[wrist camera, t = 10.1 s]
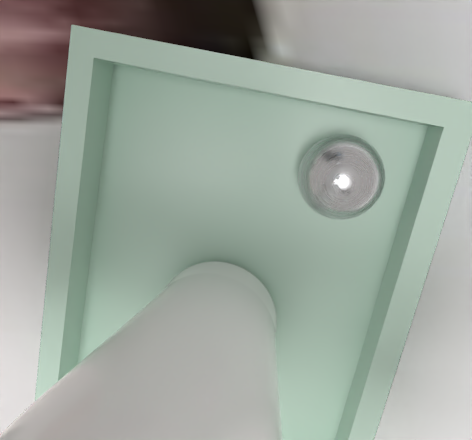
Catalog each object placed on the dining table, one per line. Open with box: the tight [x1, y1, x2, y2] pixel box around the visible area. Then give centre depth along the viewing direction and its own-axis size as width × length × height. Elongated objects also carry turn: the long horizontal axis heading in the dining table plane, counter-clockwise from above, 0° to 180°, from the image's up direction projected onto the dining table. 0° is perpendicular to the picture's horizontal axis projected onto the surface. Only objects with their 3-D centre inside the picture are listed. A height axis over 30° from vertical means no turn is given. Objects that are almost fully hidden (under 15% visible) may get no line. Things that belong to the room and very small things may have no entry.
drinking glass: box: [0, 261, 283, 440], centre depth 13 cm, size 7×7×15 cm
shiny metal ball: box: [298, 134, 385, 220], centre depth 17 cm, size 3×3×3 cm
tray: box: [35, 25, 472, 440], centre depth 19 cm, size 18×15×2 cm
